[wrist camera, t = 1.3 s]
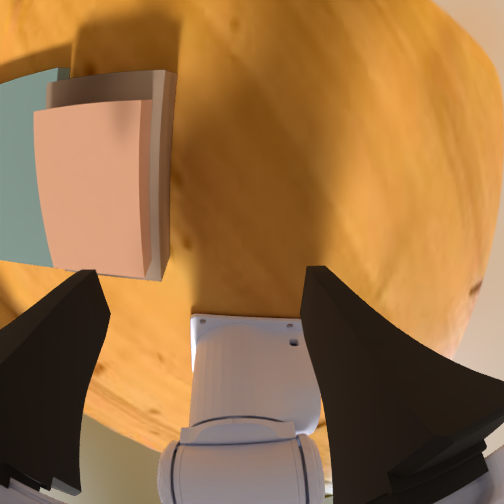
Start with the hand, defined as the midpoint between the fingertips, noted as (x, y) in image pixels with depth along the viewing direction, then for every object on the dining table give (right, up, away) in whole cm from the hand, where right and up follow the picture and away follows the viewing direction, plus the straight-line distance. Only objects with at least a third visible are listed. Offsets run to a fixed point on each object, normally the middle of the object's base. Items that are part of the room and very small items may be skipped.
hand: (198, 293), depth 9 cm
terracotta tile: (-6, +5, +4) cm, 9 cm away
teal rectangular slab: (-15, +7, +6) cm, 18 cm away
